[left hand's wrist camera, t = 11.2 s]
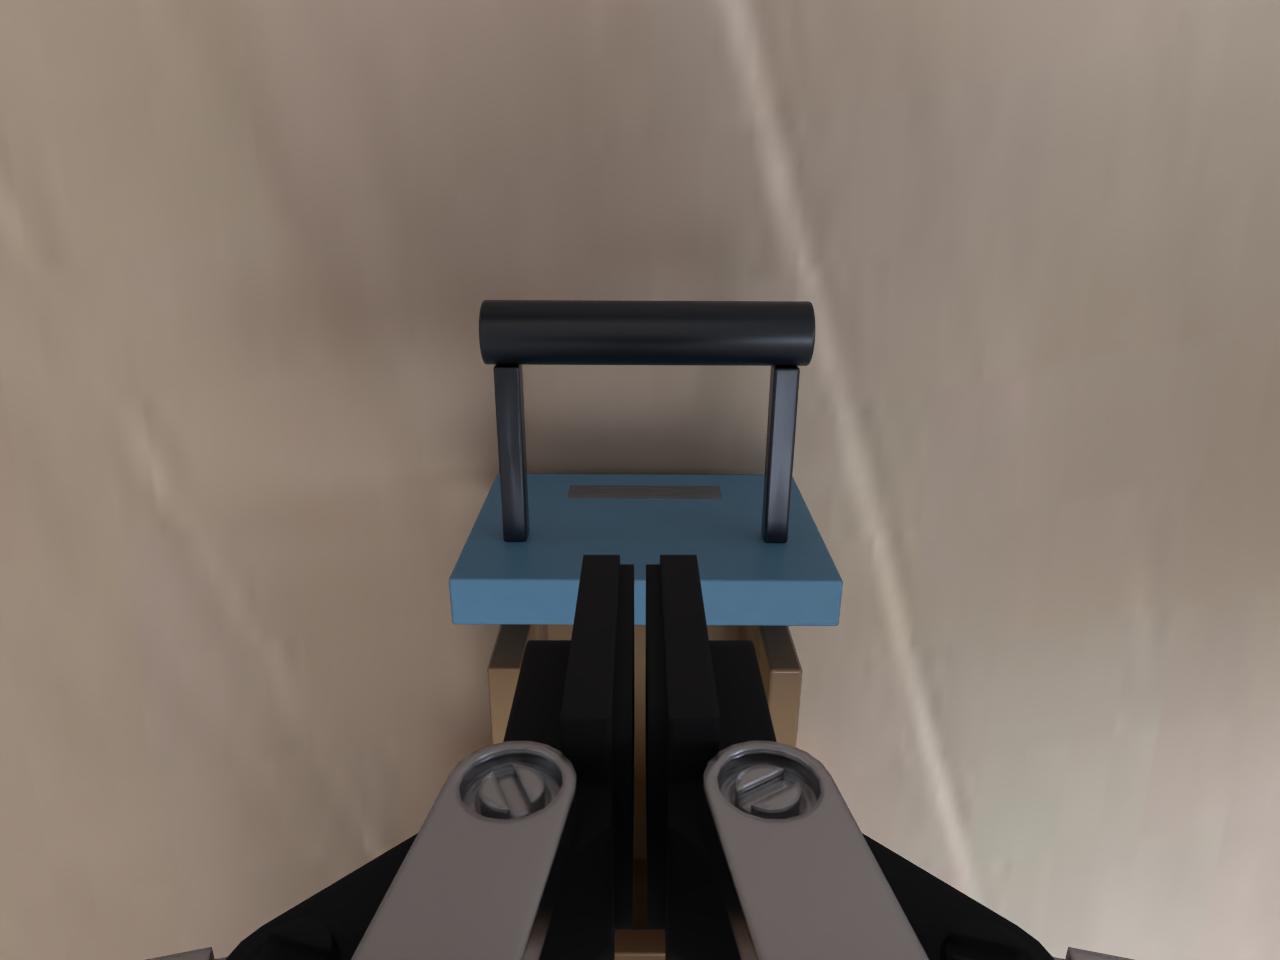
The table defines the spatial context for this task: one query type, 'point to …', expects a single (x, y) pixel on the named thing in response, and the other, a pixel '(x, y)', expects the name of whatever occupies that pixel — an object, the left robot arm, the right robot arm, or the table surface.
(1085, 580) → the table surface
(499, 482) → the drawer
